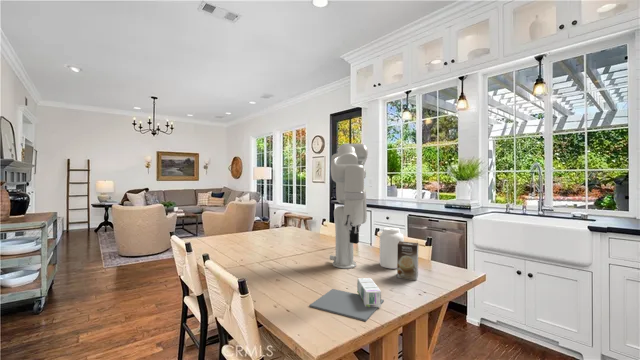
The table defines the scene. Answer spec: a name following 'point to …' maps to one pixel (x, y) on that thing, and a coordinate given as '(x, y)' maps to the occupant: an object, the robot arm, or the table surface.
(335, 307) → the mat
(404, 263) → the coffee box
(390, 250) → the white bottle
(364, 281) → the syrup box
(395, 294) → the table surface
